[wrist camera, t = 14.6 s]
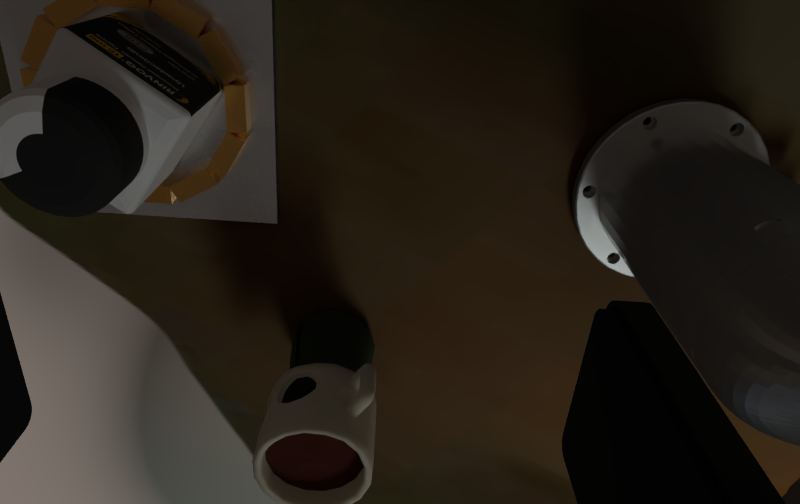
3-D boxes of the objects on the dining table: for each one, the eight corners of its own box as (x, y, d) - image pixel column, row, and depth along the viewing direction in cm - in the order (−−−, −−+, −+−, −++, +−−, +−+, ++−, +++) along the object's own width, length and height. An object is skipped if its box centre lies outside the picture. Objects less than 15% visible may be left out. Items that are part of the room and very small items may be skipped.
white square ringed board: (273, -37, 34) (266, -35, 33) (279, 218, 42) (273, 231, 40) (-14, -60, 34) (-37, -59, 32) (44, 203, 41) (28, 215, 40)
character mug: (339, 266, 44) (316, 386, 32) (415, 318, 46) (419, 448, 34) (256, 360, 48) (210, 496, 36) (329, 403, 50) (308, 545, 38)
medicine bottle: (227, 84, 37) (156, 146, 26) (172, 172, 39) (88, 261, 29) (119, 8, 35) (-6, 41, 24) (68, 106, 37) (-63, 175, 27)
